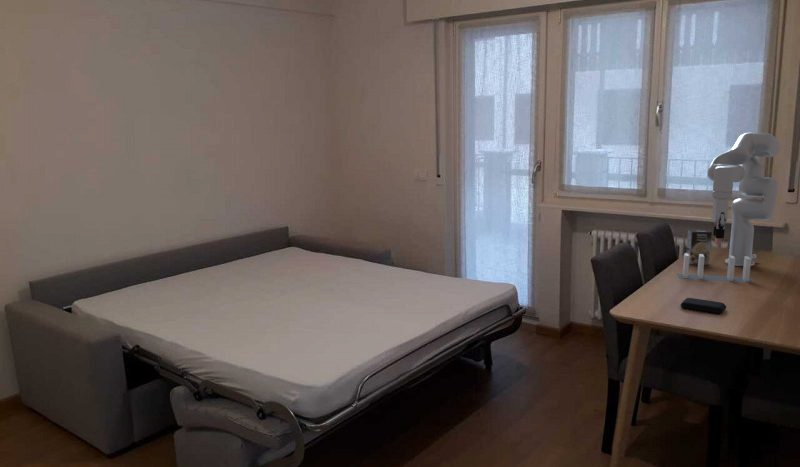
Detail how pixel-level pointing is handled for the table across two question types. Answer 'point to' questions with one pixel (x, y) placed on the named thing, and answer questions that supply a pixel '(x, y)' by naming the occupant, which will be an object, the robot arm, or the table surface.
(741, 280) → the domino mat
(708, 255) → the coffee box
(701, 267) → the domino
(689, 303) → the carrying case or bag
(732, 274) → the domino
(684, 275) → the domino
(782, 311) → the table surface
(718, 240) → the red domino
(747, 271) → the domino
